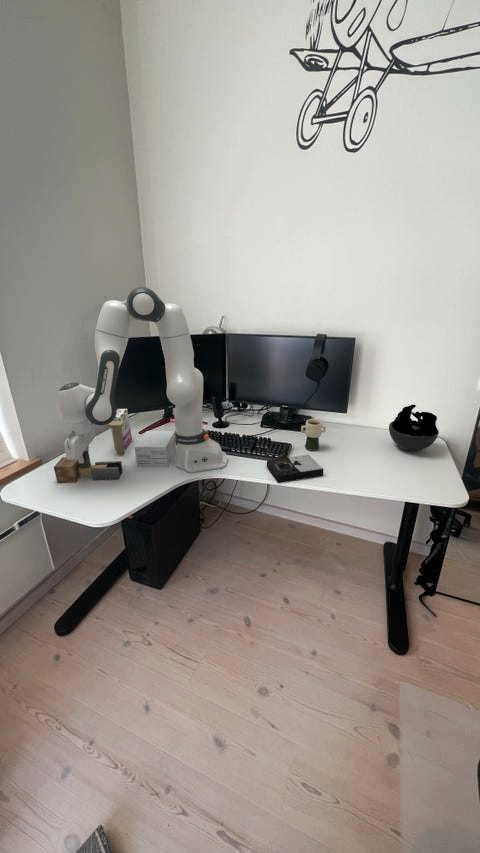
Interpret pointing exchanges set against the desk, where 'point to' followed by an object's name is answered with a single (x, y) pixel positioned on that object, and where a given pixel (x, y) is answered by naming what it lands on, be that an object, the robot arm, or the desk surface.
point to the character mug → (313, 433)
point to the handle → (118, 436)
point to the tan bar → (87, 466)
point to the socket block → (66, 471)
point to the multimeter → (294, 468)
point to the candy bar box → (126, 431)
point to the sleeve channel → (107, 471)
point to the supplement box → (155, 449)
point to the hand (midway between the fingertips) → (84, 459)
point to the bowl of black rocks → (413, 429)
